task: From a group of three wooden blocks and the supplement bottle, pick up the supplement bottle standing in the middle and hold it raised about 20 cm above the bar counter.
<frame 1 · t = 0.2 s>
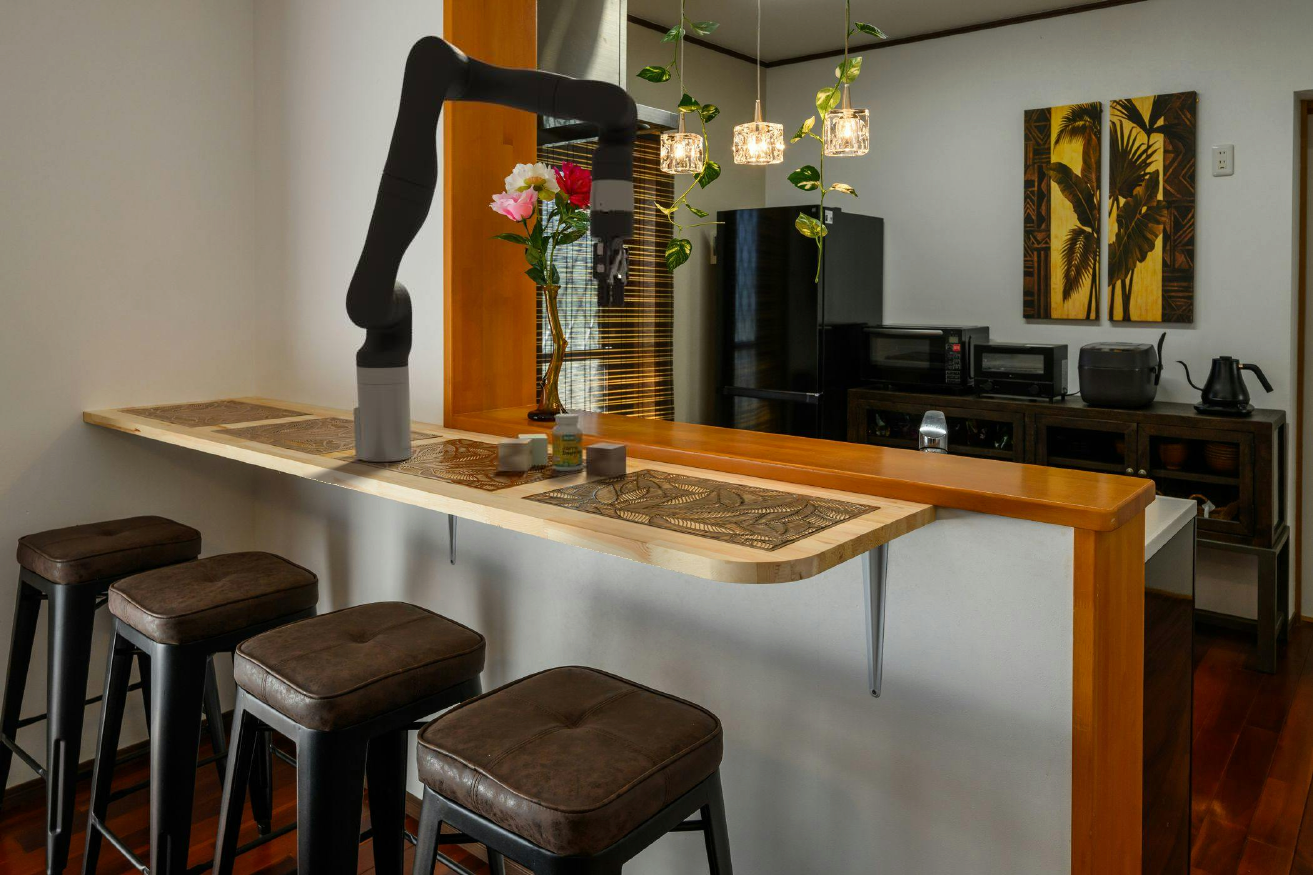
hand: (611, 306, 156), 28 cm above the table, fingers open, 8 cm apart
sage block: (533, 463, 166), on the table
walnut block: (606, 474, 155), on the table
supplement bottle: (567, 469, 160), on the table
oak block: (515, 468, 160), on the table
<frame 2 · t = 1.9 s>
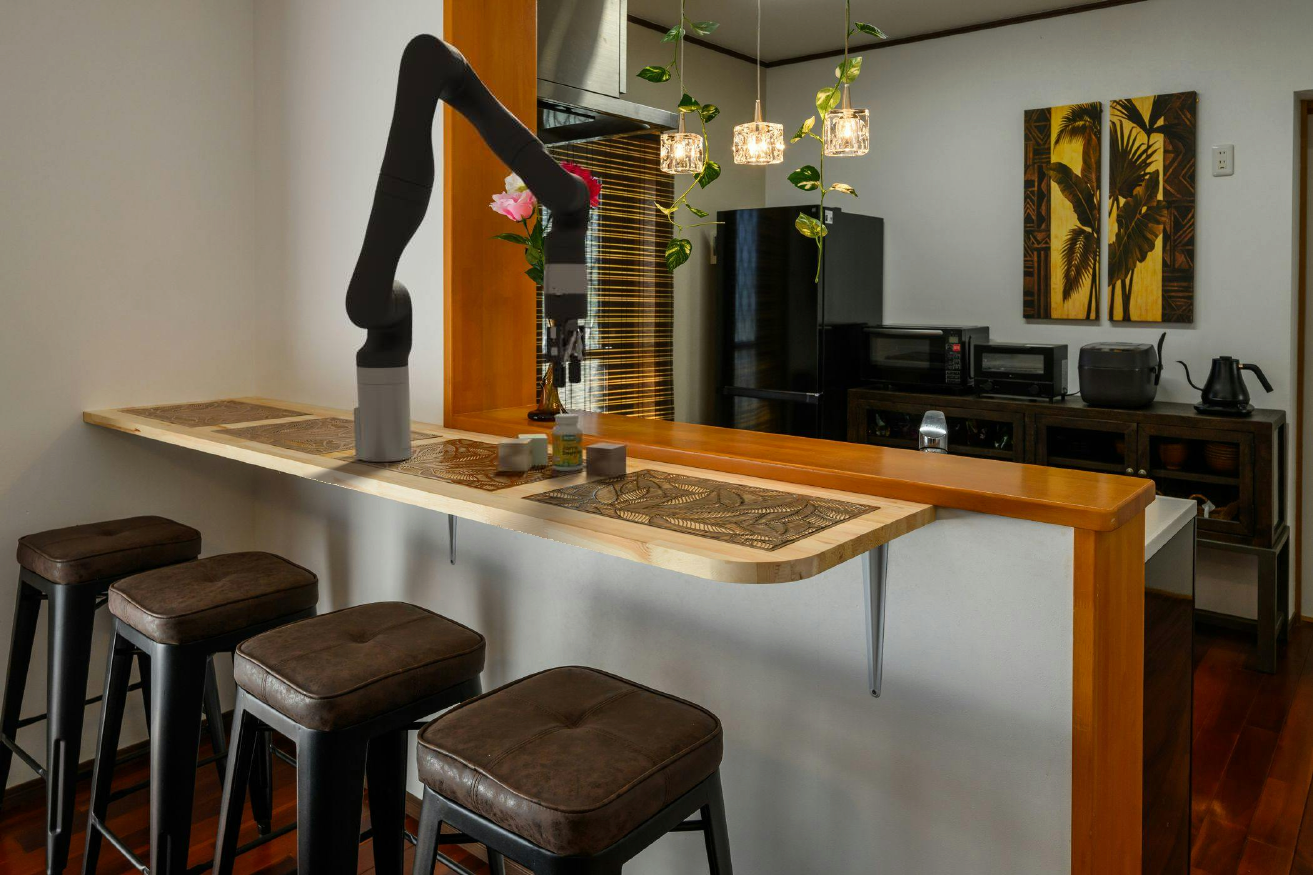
hand: (567, 385, 158), 15 cm above the table, fingers open, 8 cm apart
nothing on the table moved.
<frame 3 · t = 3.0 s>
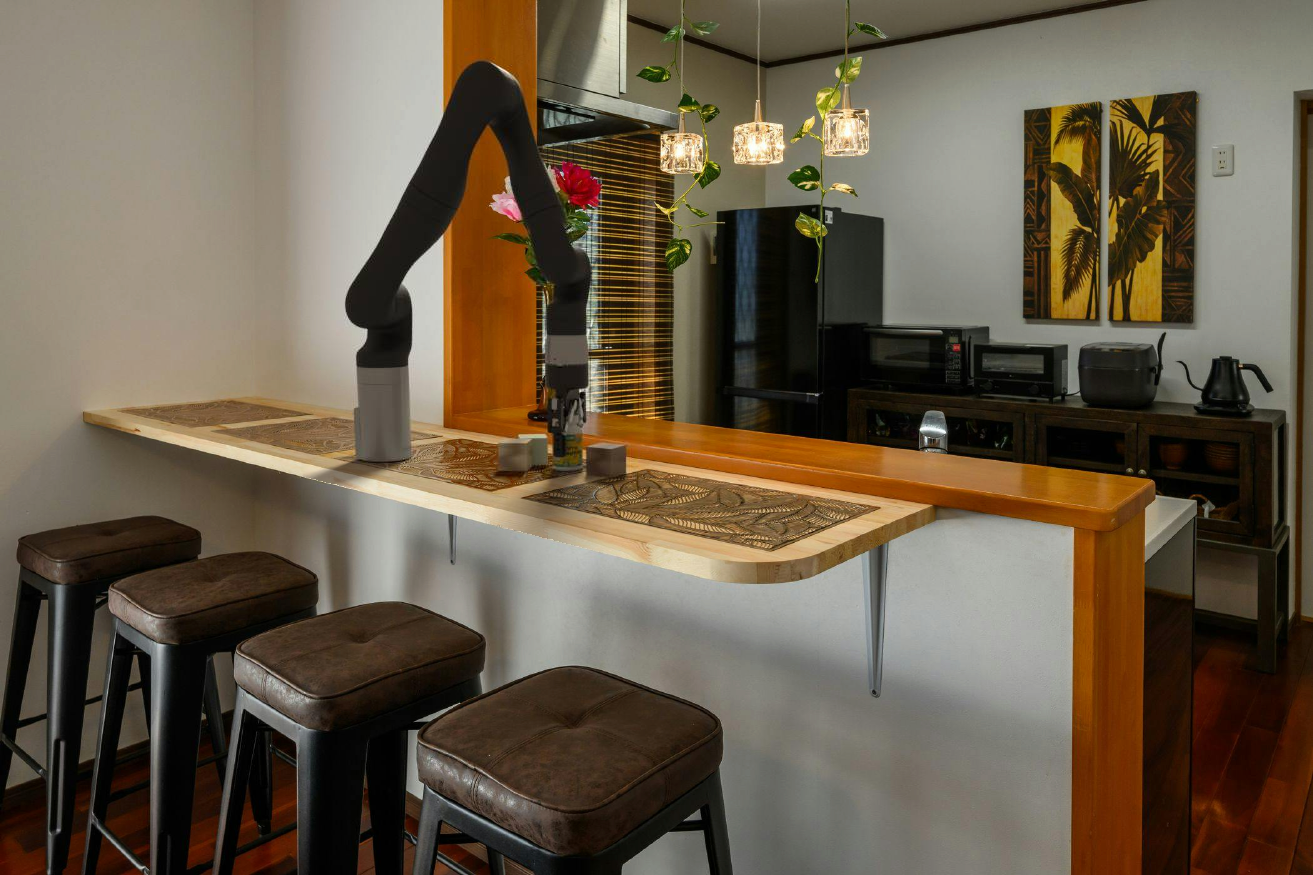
hand: (568, 452, 160), 3 cm above the table, fingers open, 8 cm apart
nothing on the table moved.
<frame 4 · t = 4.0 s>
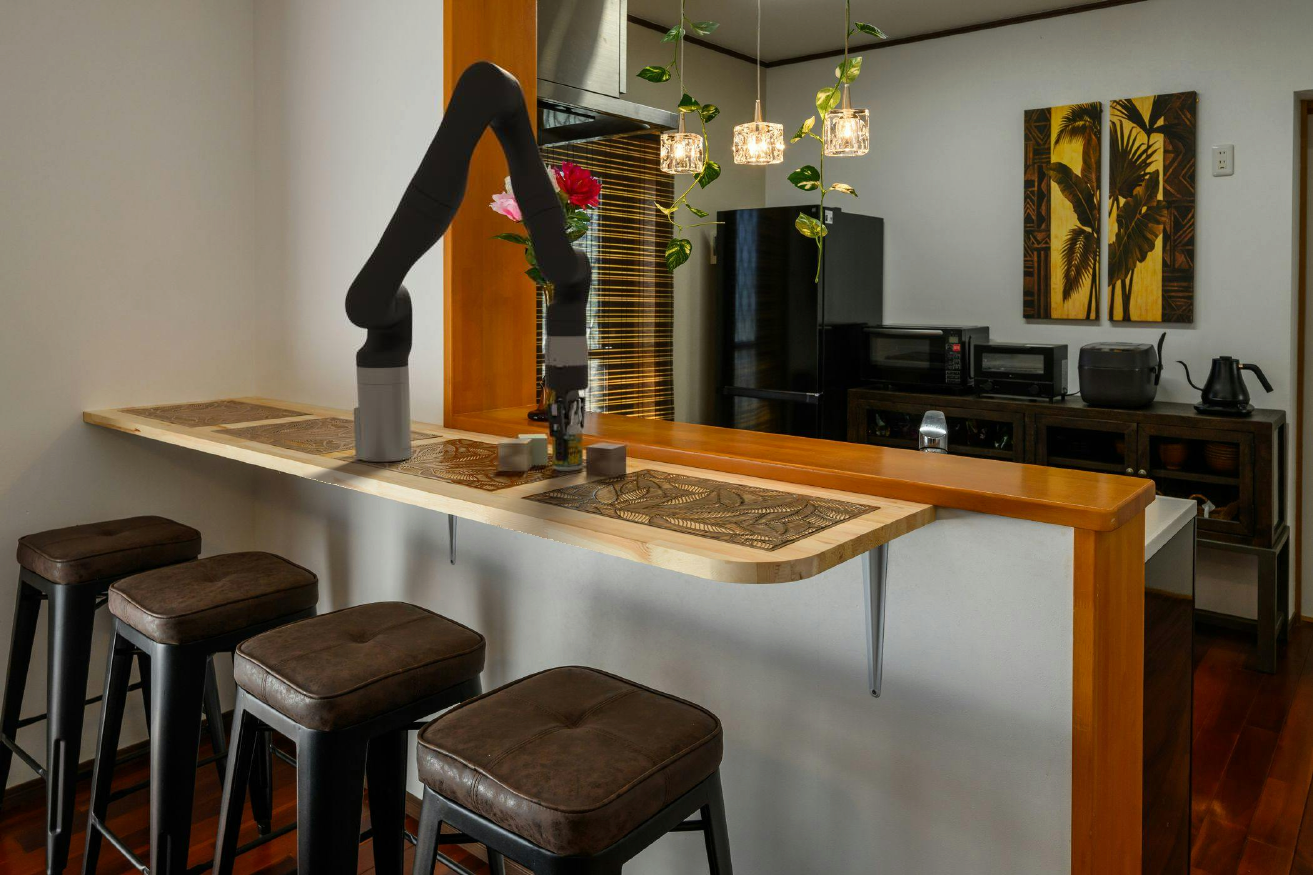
hand: (567, 457, 160), 2 cm above the table, fingers closed on supplement bottle, 5 cm apart
supplement bottle: (567, 469, 160), on the table, touching gripper
everything else where it was.
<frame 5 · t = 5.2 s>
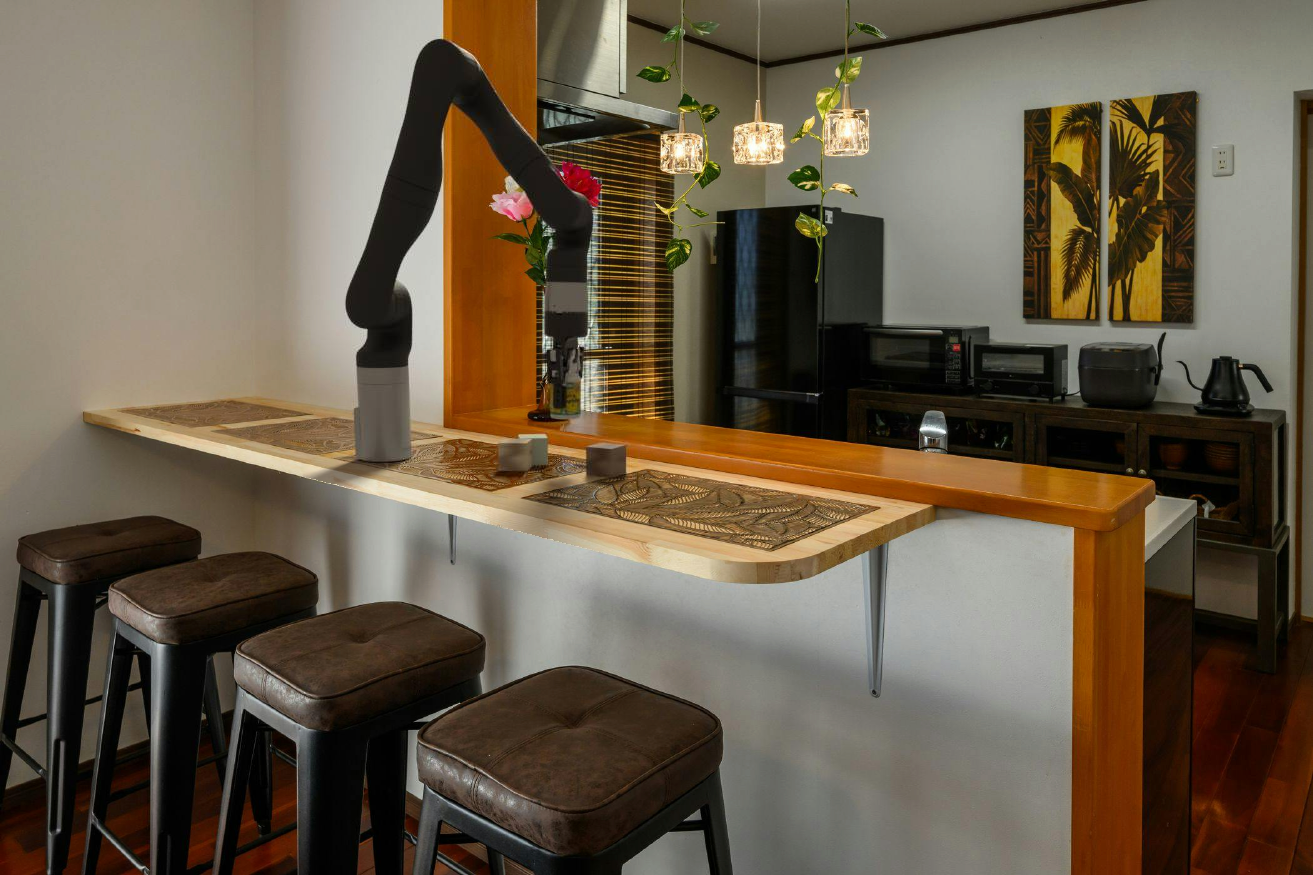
hand: (565, 406, 158), 11 cm above the table, fingers closed on supplement bottle, 5 cm apart
supplement bottle: (565, 418, 159), point 9 cm above the table, touching gripper
everything else where it was.
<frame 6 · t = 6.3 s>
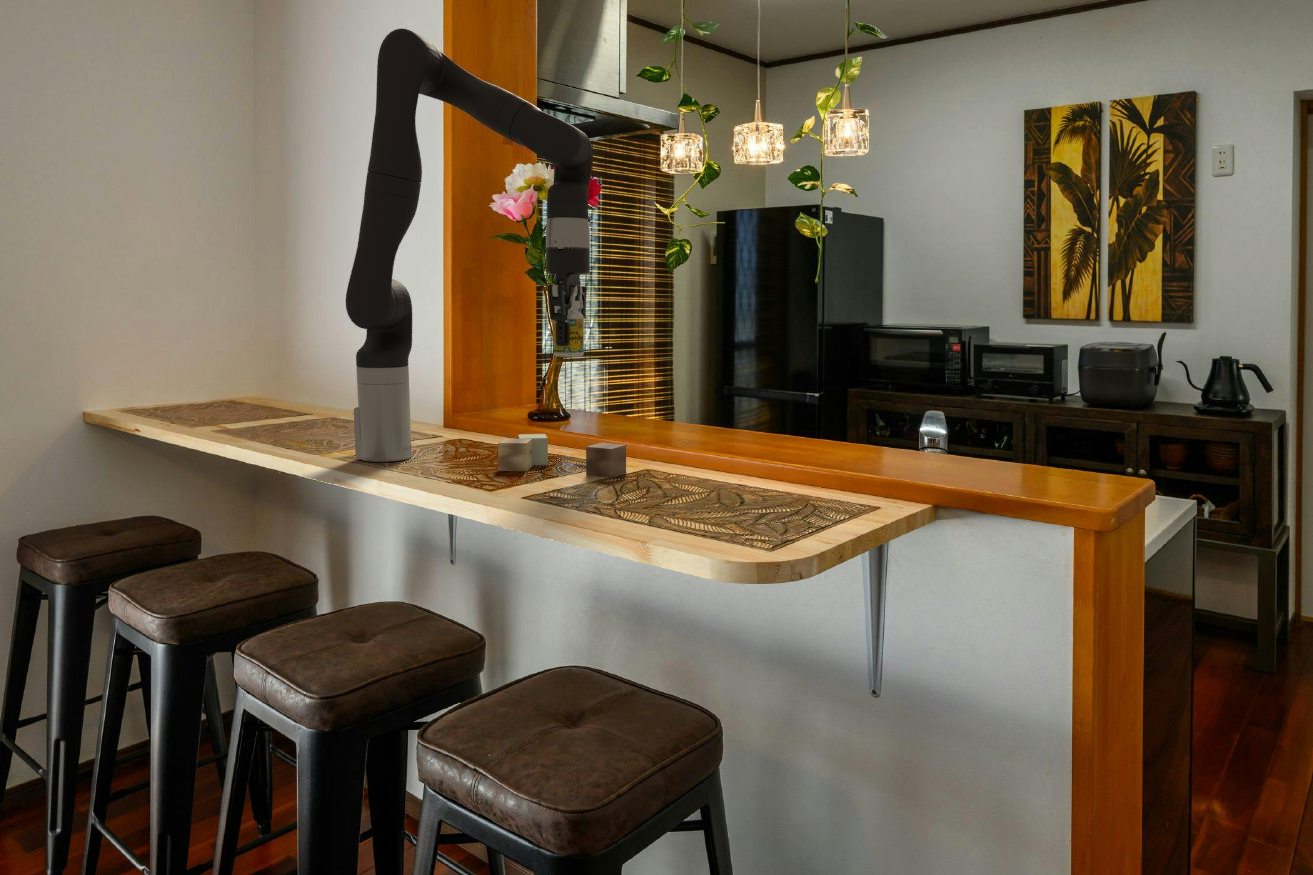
hand: (568, 344, 158), 22 cm above the table, fingers closed on supplement bottle, 5 cm apart
supplement bottle: (568, 357, 158), point 20 cm above the table, touching gripper
everything else where it was.
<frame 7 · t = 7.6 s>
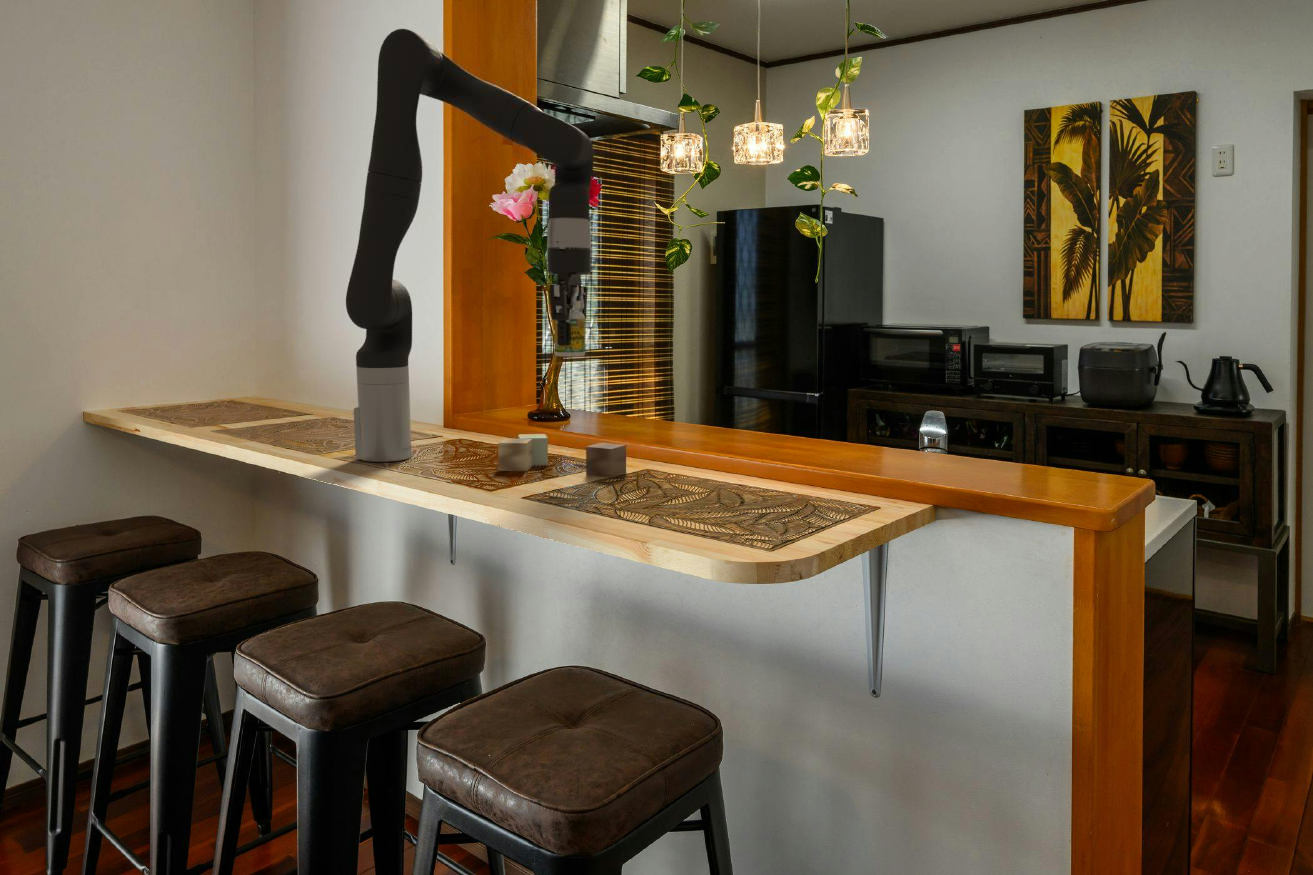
hand: (569, 344, 159), 22 cm above the table, fingers closed on supplement bottle, 5 cm apart
supplement bottle: (569, 356, 159), point 20 cm above the table, touching gripper
everything else where it was.
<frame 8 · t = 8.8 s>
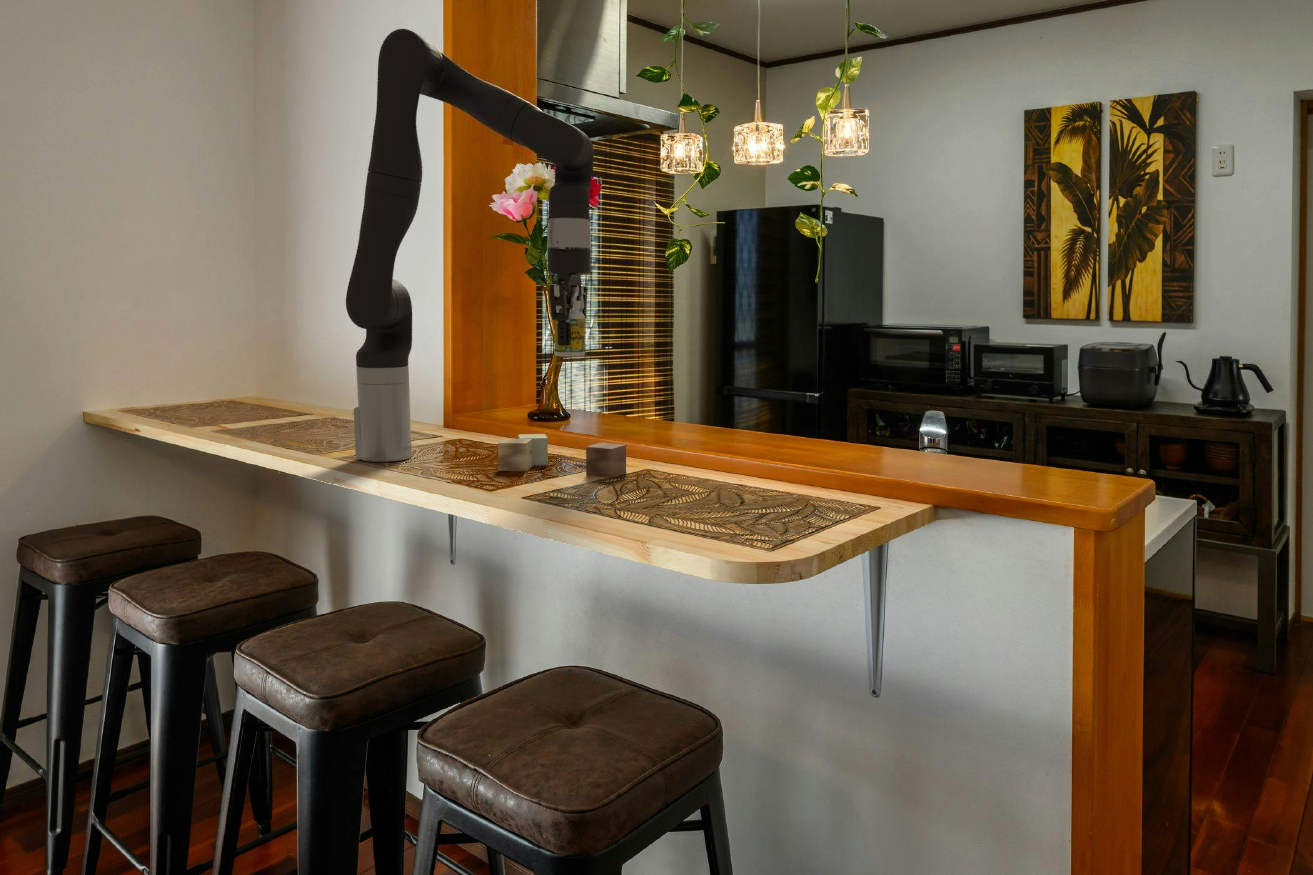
hand: (569, 344, 159), 22 cm above the table, fingers closed on supplement bottle, 5 cm apart
supplement bottle: (569, 356, 159), point 20 cm above the table, touching gripper
everything else where it was.
at the end: the gripper is holding supplement bottle; supplement bottle point 19.6 cm above the table; sage block moved 0.1 cm from its start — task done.
